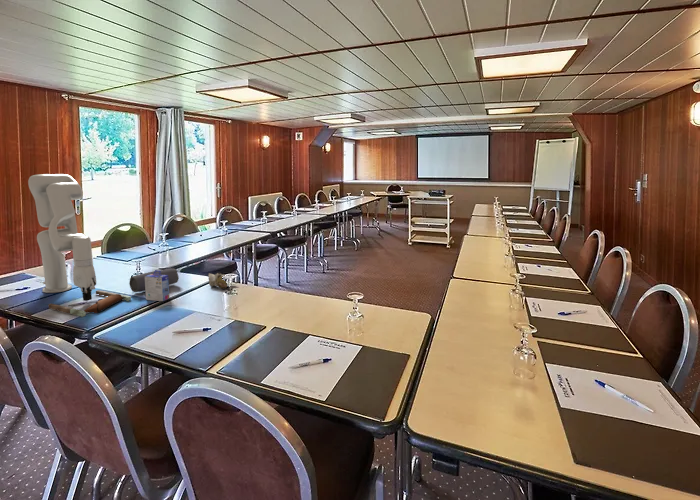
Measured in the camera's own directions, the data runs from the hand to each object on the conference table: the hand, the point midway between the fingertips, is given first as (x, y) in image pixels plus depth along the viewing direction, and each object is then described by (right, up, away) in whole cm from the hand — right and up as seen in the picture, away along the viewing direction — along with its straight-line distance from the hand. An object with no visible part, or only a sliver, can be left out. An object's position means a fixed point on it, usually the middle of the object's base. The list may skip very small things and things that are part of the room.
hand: (87, 299), depth 197 cm
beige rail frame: (+2, -2, -1) cm, 3 cm away
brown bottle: (+9, -3, -3) cm, 10 cm away
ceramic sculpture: (+54, +3, +31) cm, 62 cm away
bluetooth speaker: (+21, +2, +24) cm, 32 cm away
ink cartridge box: (+29, -1, +9) cm, 31 cm away
